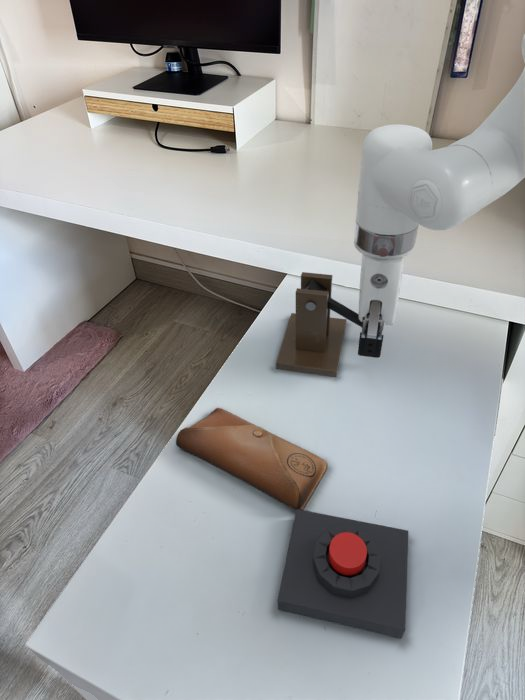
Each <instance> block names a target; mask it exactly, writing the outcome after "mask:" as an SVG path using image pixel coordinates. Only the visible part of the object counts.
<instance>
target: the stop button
mask: <svg viewBox="0 0 525 700" xmlns="http://www.w3.org/2000/svg"><path fill="white" fill-rule="evenodd" d="M366 556H367V548H366V545H365V543H364V542H363V540H362V539H361V538H360V537H359V536H357V535H355V534H353V533H349V532H344V533H340V534H338V535H336V536H335V537H334V538H333V539H332V541H331V543H330V547H329V562H330V564H331V566H332V567H333V569H334V570H335V571H337V572H338V573H340V574H342V575H346V576H352V575H356V574H358V573H359V572H360V571H361V570H362V569H363V567H364V565H365V561H366Z"/></svg>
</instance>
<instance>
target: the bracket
mask: <svg viewBox="0 0 525 700" xmlns="http://www.w3.org/2000/svg"><path fill="white" fill-rule="evenodd" d="M311 279H312V280H314V281H316V282H317V283H319V284H321V285H322V286H324V287H326V288H327V289H328V291H319V290H309V289H304V288H305V287H306V285H307V284H308V283H309V281H310V280H311ZM332 291H333V274H325V273H317V272H316V273H314V272H306V271H302V272H301V275H300V287H298V288H296V290H295V312H291V314H290V316H289V319H288V322H287V326H286V329H285V332H284V336H283V339H282V342H281V345H280V348H279V351H278V355H277V357H276V361H275V369H277V370H283V371H290V372H297V373H298V372H299V373H304V374H305V373H306V374H313V375H320V376H327V377H337V376H338V372H339V371H338V370H339V367H340V366H339V365H340V361H341V354H342V349H343V343H344V340H345V339H344V338H345V332H346V328H347V320H348V319H346V318H340V317H339V318H338V317H331V311H332V310H331V309H329V308H328V296H329V297H330V298H332V293H333V292H332Z"/></svg>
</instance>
